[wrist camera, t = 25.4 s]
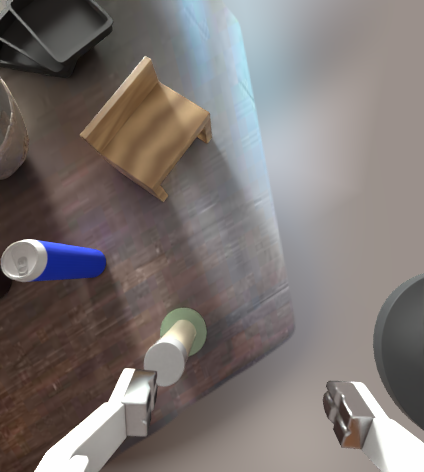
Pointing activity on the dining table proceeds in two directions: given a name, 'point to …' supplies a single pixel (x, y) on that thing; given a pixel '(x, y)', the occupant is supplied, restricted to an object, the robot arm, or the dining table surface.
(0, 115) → the ceramic bowl
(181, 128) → the wooden stand
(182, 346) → the cylinder
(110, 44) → the dining table surface
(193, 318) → the coaster
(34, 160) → the dining table surface
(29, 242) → the beverage can
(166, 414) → the dining table surface
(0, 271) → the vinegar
